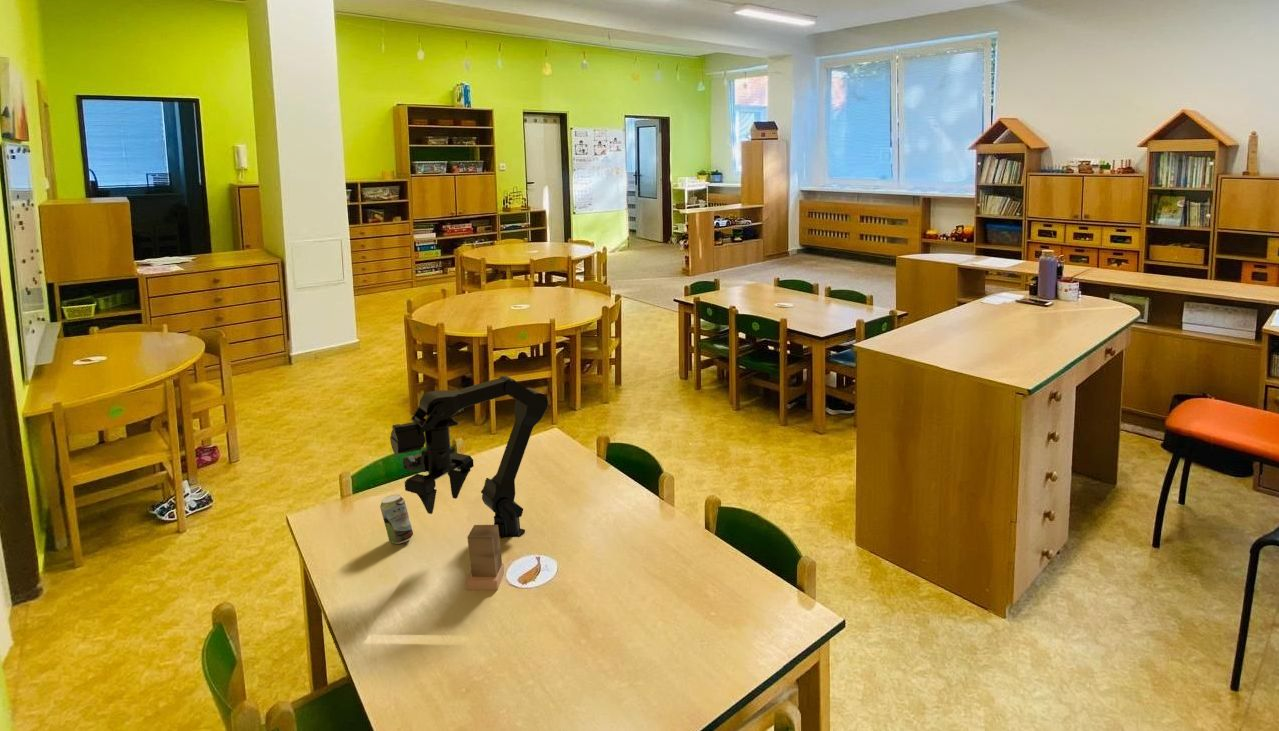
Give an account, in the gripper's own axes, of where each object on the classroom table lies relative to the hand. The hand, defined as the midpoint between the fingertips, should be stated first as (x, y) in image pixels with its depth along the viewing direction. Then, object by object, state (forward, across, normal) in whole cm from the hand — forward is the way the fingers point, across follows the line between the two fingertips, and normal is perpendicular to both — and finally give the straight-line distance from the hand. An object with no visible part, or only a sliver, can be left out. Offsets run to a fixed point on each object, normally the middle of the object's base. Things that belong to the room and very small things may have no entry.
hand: (442, 505), depth 185 cm
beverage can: (+14, -1, -16) cm, 21 cm away
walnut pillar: (+10, +7, +17) cm, 21 cm away
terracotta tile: (+12, +8, +17) cm, 23 cm away
